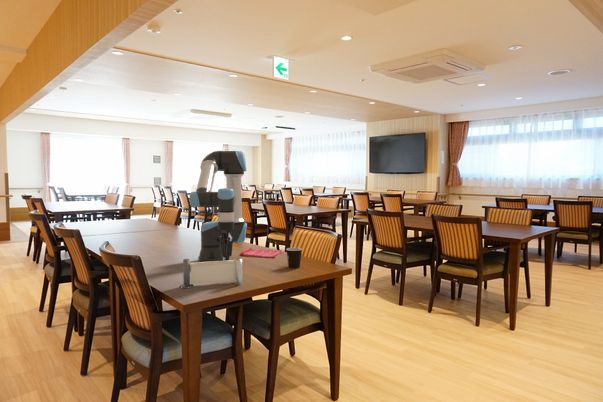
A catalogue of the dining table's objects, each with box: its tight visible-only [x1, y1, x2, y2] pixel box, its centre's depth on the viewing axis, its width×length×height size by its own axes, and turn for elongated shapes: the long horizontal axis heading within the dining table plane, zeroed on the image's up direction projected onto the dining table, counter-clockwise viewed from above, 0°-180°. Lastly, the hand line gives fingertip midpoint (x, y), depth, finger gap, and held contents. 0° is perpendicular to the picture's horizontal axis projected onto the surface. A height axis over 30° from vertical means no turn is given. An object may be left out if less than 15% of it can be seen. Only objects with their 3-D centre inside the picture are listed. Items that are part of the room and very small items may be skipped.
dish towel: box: [239, 247, 283, 259], centre depth 253 cm, size 17×24×3 cm
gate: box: [182, 258, 237, 286], centre depth 184 cm, size 25×3×12 cm, turn 107°
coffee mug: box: [286, 247, 303, 269], centre depth 221 cm, size 12×9×10 cm
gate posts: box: [179, 258, 243, 289], centre depth 183 cm, size 28×7×12 cm, turn 105°
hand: (226, 269), depth 190 cm, fingers closed
